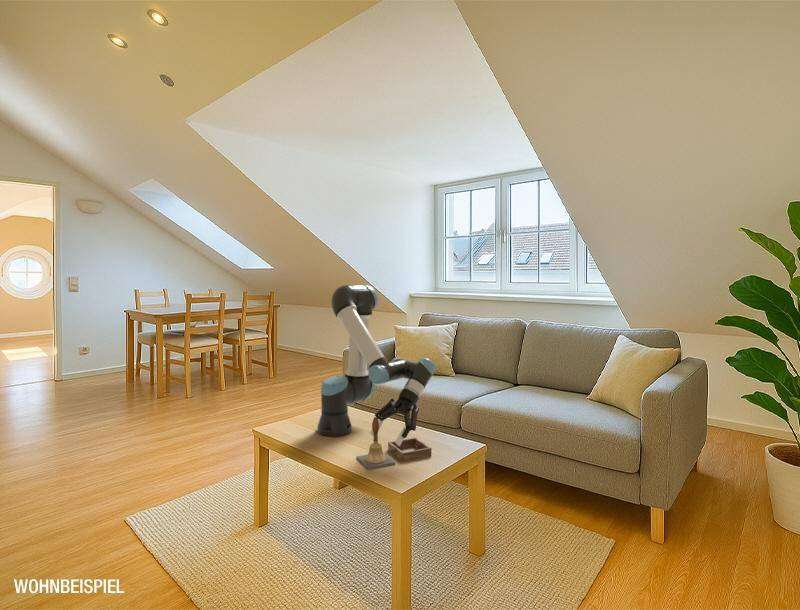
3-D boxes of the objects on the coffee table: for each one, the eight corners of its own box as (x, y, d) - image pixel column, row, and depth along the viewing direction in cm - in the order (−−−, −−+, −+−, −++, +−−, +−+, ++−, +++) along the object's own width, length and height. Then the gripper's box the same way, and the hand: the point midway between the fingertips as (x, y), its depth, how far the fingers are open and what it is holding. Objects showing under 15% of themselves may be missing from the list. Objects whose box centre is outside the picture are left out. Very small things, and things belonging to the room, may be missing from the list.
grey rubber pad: (356, 458, 179) (356, 456, 179) (382, 453, 184) (382, 451, 184) (367, 469, 170) (367, 467, 170) (395, 464, 175) (395, 462, 175)
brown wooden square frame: (388, 449, 189) (388, 442, 188) (415, 444, 194) (415, 437, 194) (402, 461, 177) (402, 453, 177) (431, 455, 183) (431, 448, 183)
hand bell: (367, 464, 172) (367, 422, 171) (362, 455, 180) (363, 415, 179) (389, 462, 174) (389, 420, 173) (383, 453, 182) (384, 413, 181)
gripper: (439, 404, 182) (413, 453, 172) (393, 392, 199) (367, 436, 190) (430, 393, 178) (403, 443, 168) (384, 382, 195) (357, 426, 185)
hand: (384, 439), depth 179 cm, fingers open, 13 cm apart
